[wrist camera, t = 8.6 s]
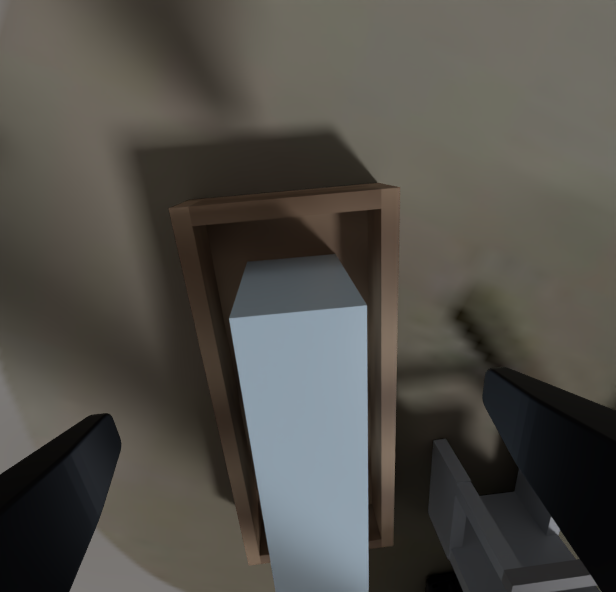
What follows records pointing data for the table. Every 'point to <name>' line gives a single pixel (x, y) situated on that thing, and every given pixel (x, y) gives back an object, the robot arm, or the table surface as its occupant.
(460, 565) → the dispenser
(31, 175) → the table surface
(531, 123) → the table surface
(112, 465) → the robot arm
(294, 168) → the table surface
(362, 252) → the tray
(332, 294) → the pale blue rectangular pillar
